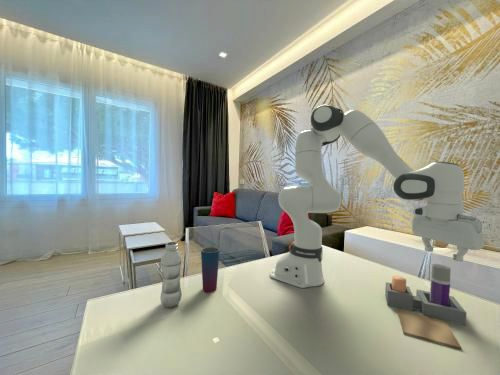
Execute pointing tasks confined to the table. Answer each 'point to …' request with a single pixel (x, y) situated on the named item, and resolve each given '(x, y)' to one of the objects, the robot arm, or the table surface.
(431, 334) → the pad
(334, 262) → the table surface
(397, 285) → the peach cylinder
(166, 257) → the plastic bottle
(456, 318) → the housing
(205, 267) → the cup
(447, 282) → the container
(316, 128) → the robot arm
